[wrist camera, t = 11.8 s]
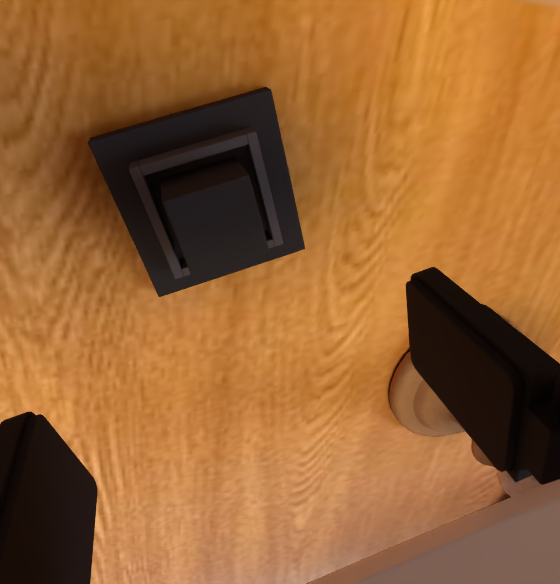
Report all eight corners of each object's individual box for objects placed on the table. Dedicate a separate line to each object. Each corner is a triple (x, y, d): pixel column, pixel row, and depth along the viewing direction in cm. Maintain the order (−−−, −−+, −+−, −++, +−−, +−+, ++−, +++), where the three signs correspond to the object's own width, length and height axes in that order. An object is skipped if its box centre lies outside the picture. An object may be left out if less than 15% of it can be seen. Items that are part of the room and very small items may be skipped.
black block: (159, 178, 22) (161, 201, 19) (235, 155, 22) (249, 174, 19) (186, 247, 24) (191, 277, 21) (254, 225, 25) (269, 251, 22)
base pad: (89, 137, 21) (84, 147, 19) (266, 86, 22) (277, 91, 20) (158, 289, 26) (159, 308, 24) (300, 242, 27) (311, 257, 25)
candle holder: (413, 446, 41) (600, 735, 24) (365, 369, 34) (579, 697, 17) (529, 377, 40) (804, 625, 23) (503, 284, 33) (866, 540, 17)
